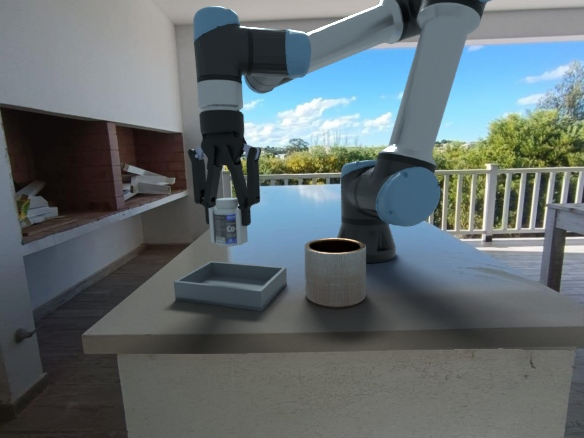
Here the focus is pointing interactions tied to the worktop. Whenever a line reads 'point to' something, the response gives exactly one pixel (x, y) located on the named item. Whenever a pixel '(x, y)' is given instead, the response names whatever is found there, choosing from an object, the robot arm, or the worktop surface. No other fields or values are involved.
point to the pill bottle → (226, 222)
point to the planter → (335, 272)
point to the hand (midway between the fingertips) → (229, 241)
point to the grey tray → (232, 285)
